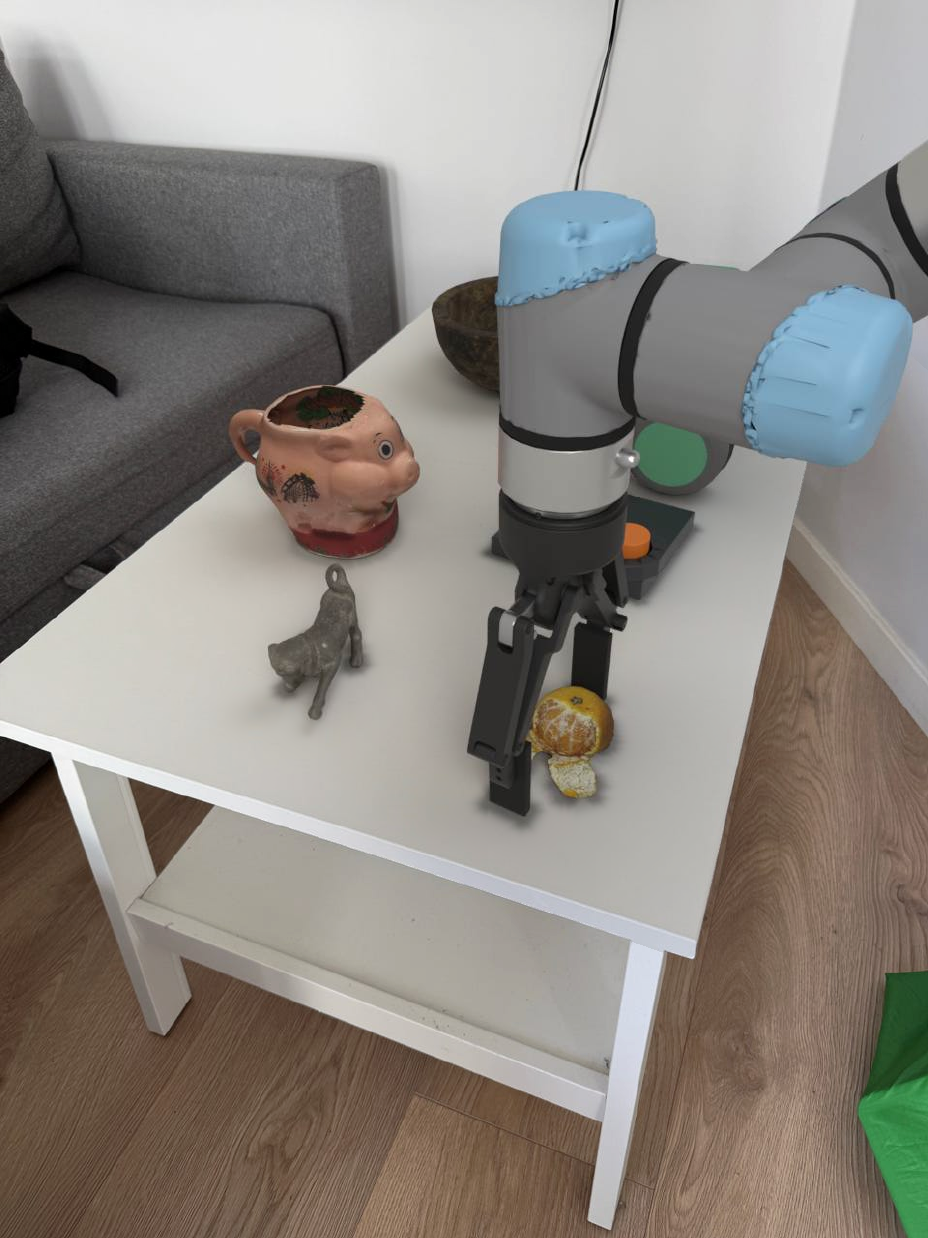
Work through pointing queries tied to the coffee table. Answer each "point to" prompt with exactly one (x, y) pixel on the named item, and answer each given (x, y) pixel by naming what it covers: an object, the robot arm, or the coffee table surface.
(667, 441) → the grey headset
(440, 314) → the bowl
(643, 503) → the scale
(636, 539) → the button
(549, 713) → the fruit
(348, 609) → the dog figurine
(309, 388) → the decorative planter
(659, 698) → the coffee table surface
